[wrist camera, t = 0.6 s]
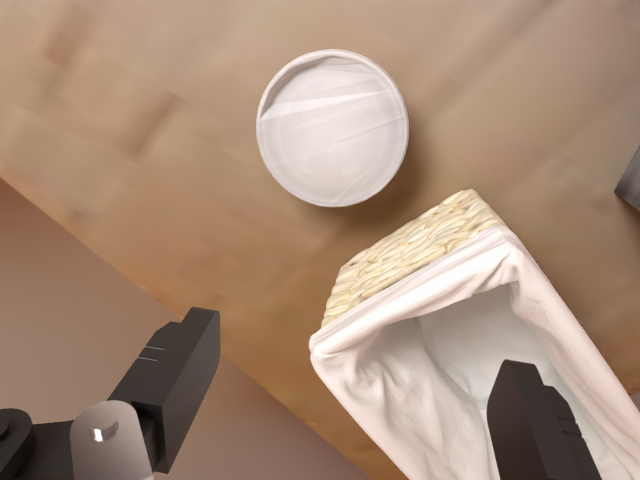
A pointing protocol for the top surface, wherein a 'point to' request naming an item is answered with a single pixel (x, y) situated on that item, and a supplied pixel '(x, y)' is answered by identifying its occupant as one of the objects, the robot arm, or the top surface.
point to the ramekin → (332, 128)
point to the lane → (631, 182)
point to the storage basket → (460, 346)
